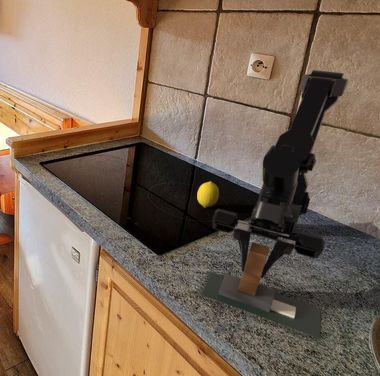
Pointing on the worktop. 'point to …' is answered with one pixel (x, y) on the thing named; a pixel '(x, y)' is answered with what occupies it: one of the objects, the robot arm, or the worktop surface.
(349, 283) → the worktop surface
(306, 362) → the worktop surface
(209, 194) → the lemon
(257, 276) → the duster
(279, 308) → the pale pink flat block
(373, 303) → the worktop surface
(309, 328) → the board
